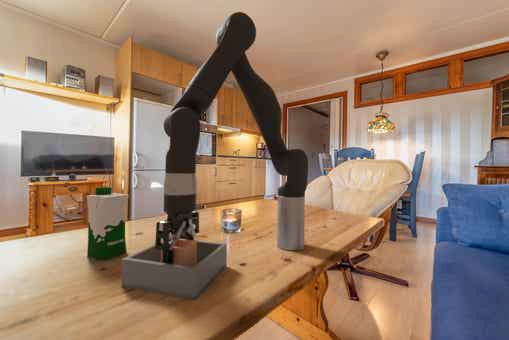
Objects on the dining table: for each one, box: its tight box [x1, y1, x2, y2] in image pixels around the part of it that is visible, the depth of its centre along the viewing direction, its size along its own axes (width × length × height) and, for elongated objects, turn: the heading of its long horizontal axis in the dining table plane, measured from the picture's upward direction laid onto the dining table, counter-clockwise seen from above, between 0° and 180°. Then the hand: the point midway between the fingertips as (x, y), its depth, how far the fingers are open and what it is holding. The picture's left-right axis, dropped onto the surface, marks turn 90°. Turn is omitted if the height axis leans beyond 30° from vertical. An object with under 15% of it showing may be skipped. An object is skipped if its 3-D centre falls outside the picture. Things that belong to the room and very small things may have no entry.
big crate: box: [120, 239, 228, 301], centre depth 52 cm, size 18×16×6 cm
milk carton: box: [86, 186, 130, 262], centre depth 65 cm, size 9×9×20 cm
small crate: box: [161, 238, 198, 267], centre depth 52 cm, size 6×6×7 cm
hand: (179, 258), depth 52 cm, fingers open, 8 cm apart
